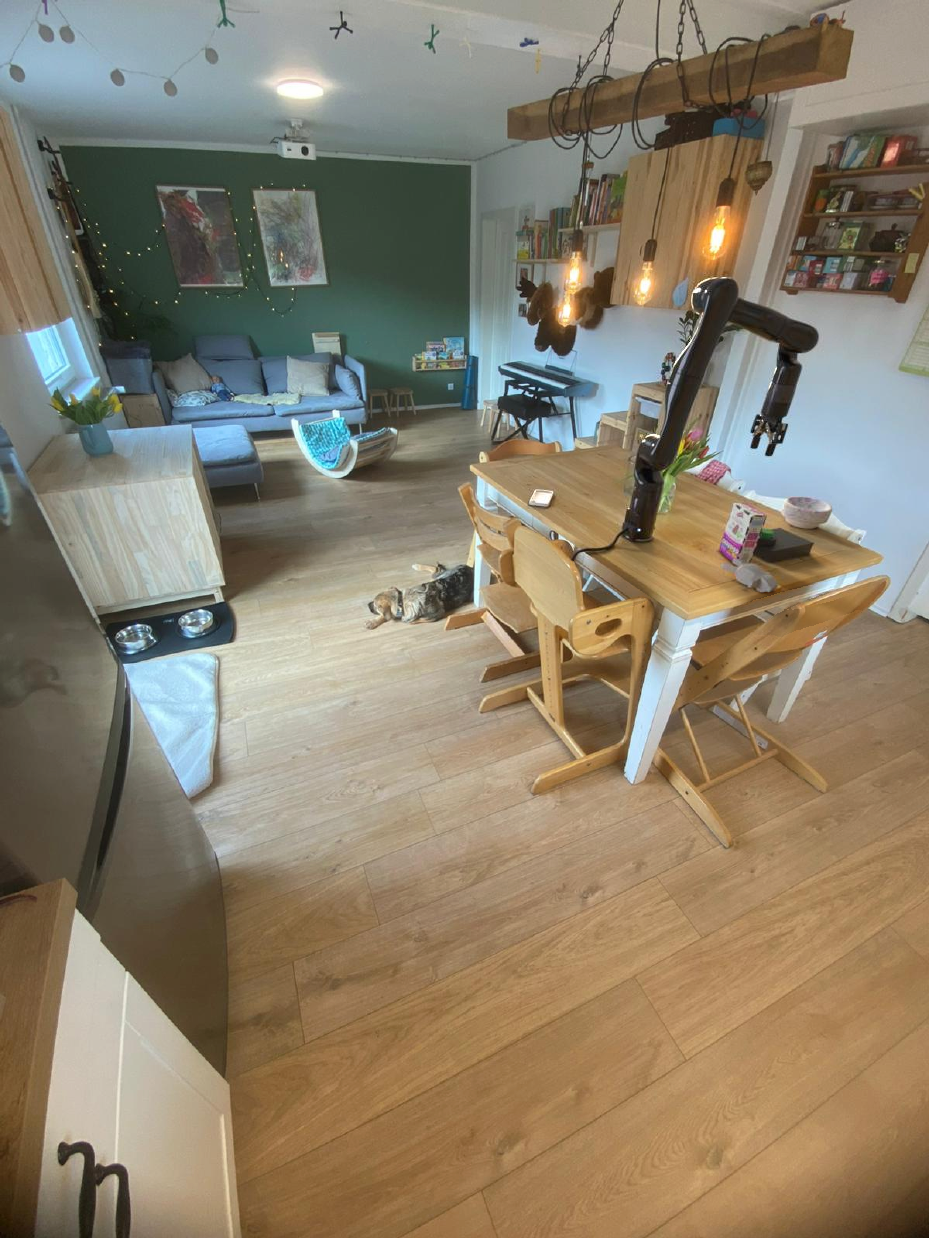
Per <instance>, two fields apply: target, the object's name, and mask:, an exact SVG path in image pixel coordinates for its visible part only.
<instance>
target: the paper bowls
mask: <svg viewBox="0 0 929 1238" xmlns="http://www.w3.org/2000/svg"><path fill="white" fill-rule="evenodd" d="M833 509H834V508H833V506H832V505H831V504H830V503H828V502H826V501H824V500H820V499H818V498H814V497H808V496H799V495H795V496H789V497H787V498H785V499H784V501H783V505H782V508H781V510H780V514H781V515H782V516H783V517H784V519H785V522H786V523H787V524H789V526H790V525H791V526H793V527H796V528H800V529H807V530H809V529H815V528H817V527H818V526H820V525H822V524H827V523H828V521H829V519H830V516H831V514H832V512H833Z"/></svg>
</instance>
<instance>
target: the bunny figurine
mask: <svg viewBox="0 0 929 1238" xmlns="http://www.w3.org/2000/svg"><path fill="white" fill-rule="evenodd" d="M732 564H733V565H732ZM732 564H730V563H726V562H723V563H722V564H721V566H720V568H721V569H722V570H724V571H728V572H732V573H734V575H735V579H736V581H738V582H739V583H740V584H742V585H744V586H747V588H749V589H752V588H755V589H756V591H757V592H760V593H765V592H767V593H770V592H773V591H775V590H776V589H777V588H778V587H779V583H778V582H777V579H776V578H775V577H774V576H773V575H772V573H771V572H769V571H764V570H762V568H761V566H759V565H757V564H755V563H752V562H750V563H749V564H742V563H741V561H740V560H738V559H733V563H732ZM734 565H735V566H734Z"/></svg>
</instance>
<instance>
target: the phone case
mask: <svg viewBox="0 0 929 1238" xmlns="http://www.w3.org/2000/svg"><path fill="white" fill-rule="evenodd" d="M553 496H554V491H553V490H545V489H538V488H537V489H535V490H534V491H533V493H532V495H531V497H530V499H529V503H528V504H529V505H530V506H537V507H545V508H547V507H549V505H550V503H551V501H552V498H553Z"/></svg>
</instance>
